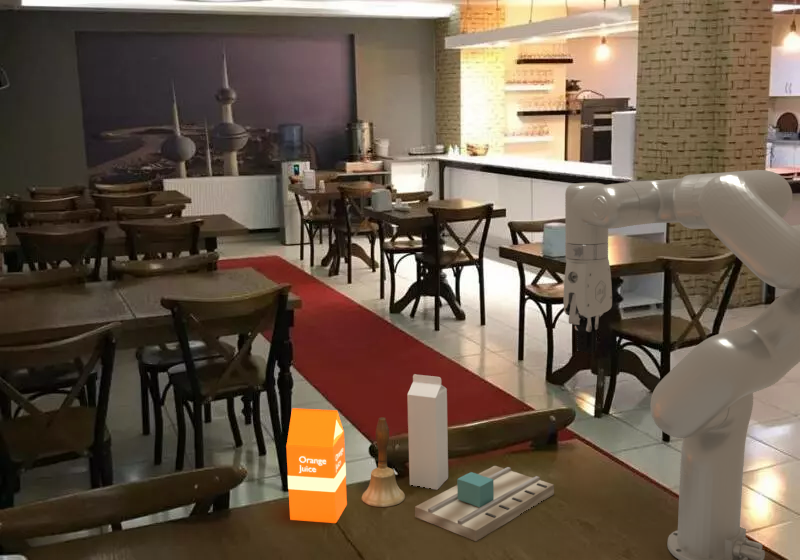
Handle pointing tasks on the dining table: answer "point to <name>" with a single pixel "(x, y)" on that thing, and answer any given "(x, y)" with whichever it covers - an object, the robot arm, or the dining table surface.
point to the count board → (477, 522)
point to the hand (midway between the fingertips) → (586, 350)
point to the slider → (475, 489)
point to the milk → (427, 432)
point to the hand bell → (382, 475)
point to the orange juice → (316, 465)
